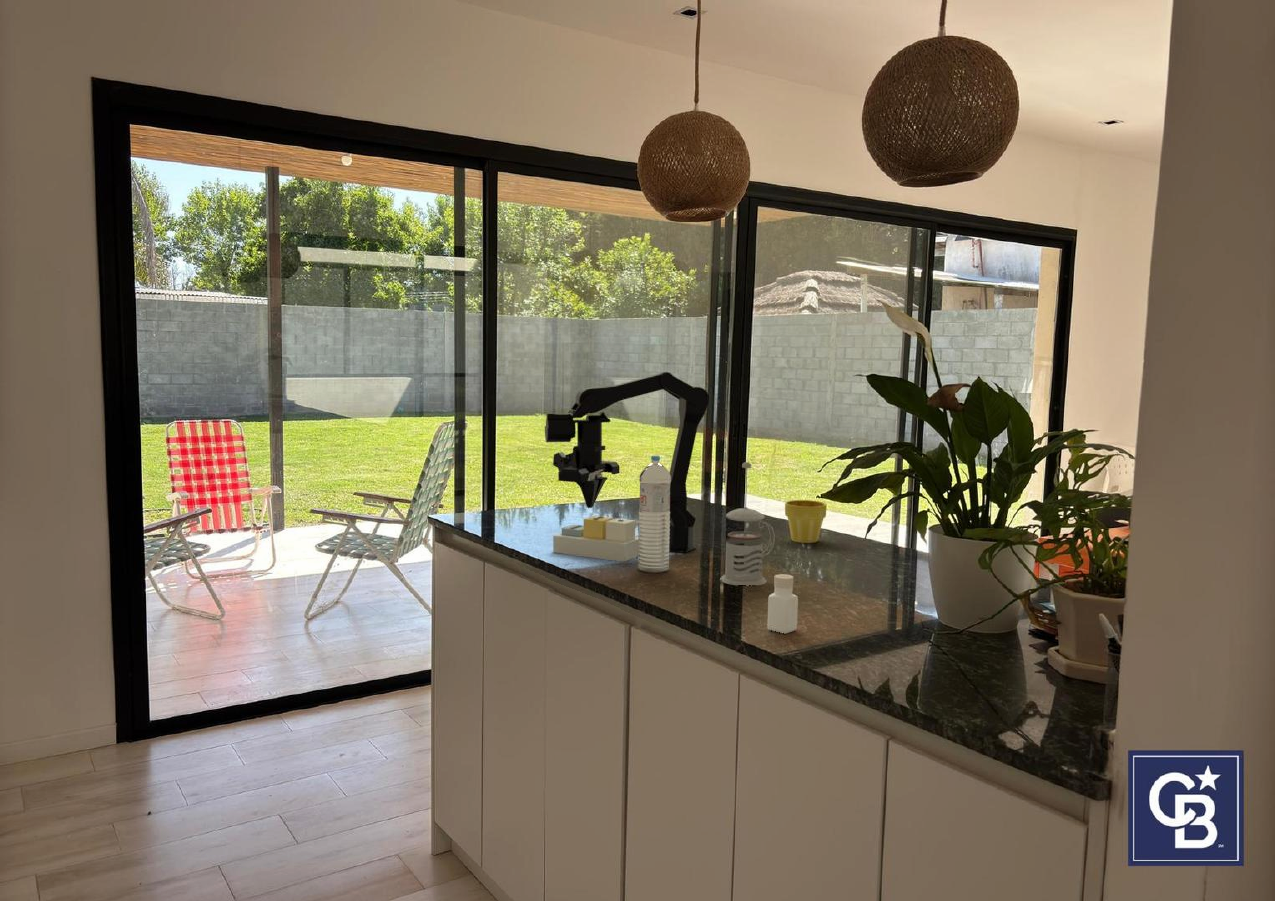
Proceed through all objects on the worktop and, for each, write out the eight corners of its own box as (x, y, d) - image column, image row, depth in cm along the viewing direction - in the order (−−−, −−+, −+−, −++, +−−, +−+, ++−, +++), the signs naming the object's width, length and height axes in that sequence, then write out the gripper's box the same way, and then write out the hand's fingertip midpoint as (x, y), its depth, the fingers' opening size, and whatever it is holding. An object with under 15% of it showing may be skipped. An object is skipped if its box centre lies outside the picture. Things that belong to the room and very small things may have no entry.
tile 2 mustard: (612, 538, 221) (612, 517, 220) (602, 542, 217) (602, 520, 216) (594, 536, 223) (594, 515, 223) (583, 540, 219) (583, 518, 218)
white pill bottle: (798, 630, 162) (800, 576, 161) (785, 635, 159) (787, 580, 158) (778, 625, 164) (780, 572, 163) (765, 630, 161) (767, 576, 160)
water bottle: (666, 574, 201) (668, 458, 198) (634, 572, 202) (636, 457, 200) (671, 567, 207) (673, 455, 205) (641, 565, 209) (643, 453, 206)
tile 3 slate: (590, 547, 224) (590, 525, 223) (579, 551, 220) (579, 529, 219) (572, 545, 226) (572, 523, 226) (561, 548, 222) (561, 527, 221)
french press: (712, 576, 200) (715, 459, 197) (760, 572, 204) (764, 458, 201) (732, 587, 190) (736, 465, 188) (782, 583, 195) (787, 464, 192)
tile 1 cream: (635, 541, 218) (635, 519, 218) (624, 545, 214) (625, 522, 213) (616, 539, 221) (616, 517, 220) (605, 542, 216) (606, 520, 216)
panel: (642, 554, 220) (642, 537, 220) (624, 561, 212) (624, 544, 212) (572, 545, 229) (573, 529, 228) (553, 552, 221) (553, 535, 220)
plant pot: (795, 545, 233) (797, 506, 232) (776, 537, 243) (778, 500, 242) (832, 543, 236) (834, 505, 235) (812, 535, 246) (813, 499, 245)
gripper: (581, 436, 231) (581, 499, 232) (538, 443, 214) (539, 510, 216) (620, 438, 225) (620, 503, 227) (579, 446, 209) (580, 515, 211)
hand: (589, 507), depth 220 cm, fingers closed
